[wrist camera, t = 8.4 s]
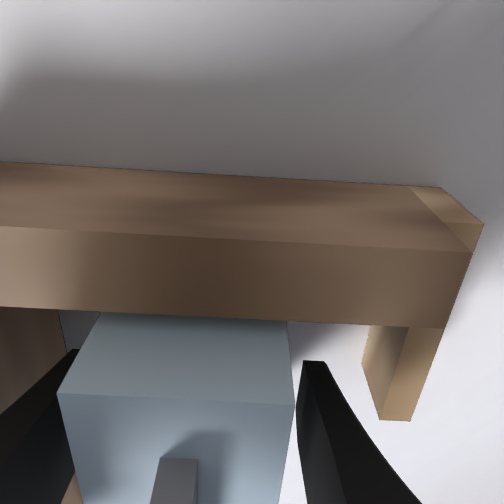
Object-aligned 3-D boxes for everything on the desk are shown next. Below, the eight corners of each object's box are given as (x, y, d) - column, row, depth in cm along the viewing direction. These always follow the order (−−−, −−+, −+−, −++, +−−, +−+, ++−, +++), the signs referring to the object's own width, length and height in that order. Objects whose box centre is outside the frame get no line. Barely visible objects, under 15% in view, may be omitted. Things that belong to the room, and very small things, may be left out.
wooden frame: (440, 188, 12) (520, 254, 8) (336, 534, 21) (352, 635, 17) (-46, 159, 11) (-181, 216, 8) (65, 524, 21) (26, 625, 17)
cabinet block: (278, 252, 13) (300, 453, 7) (263, 385, 16) (269, 610, 10) (138, 243, 13) (30, 440, 7) (149, 379, 16) (81, 603, 10)
